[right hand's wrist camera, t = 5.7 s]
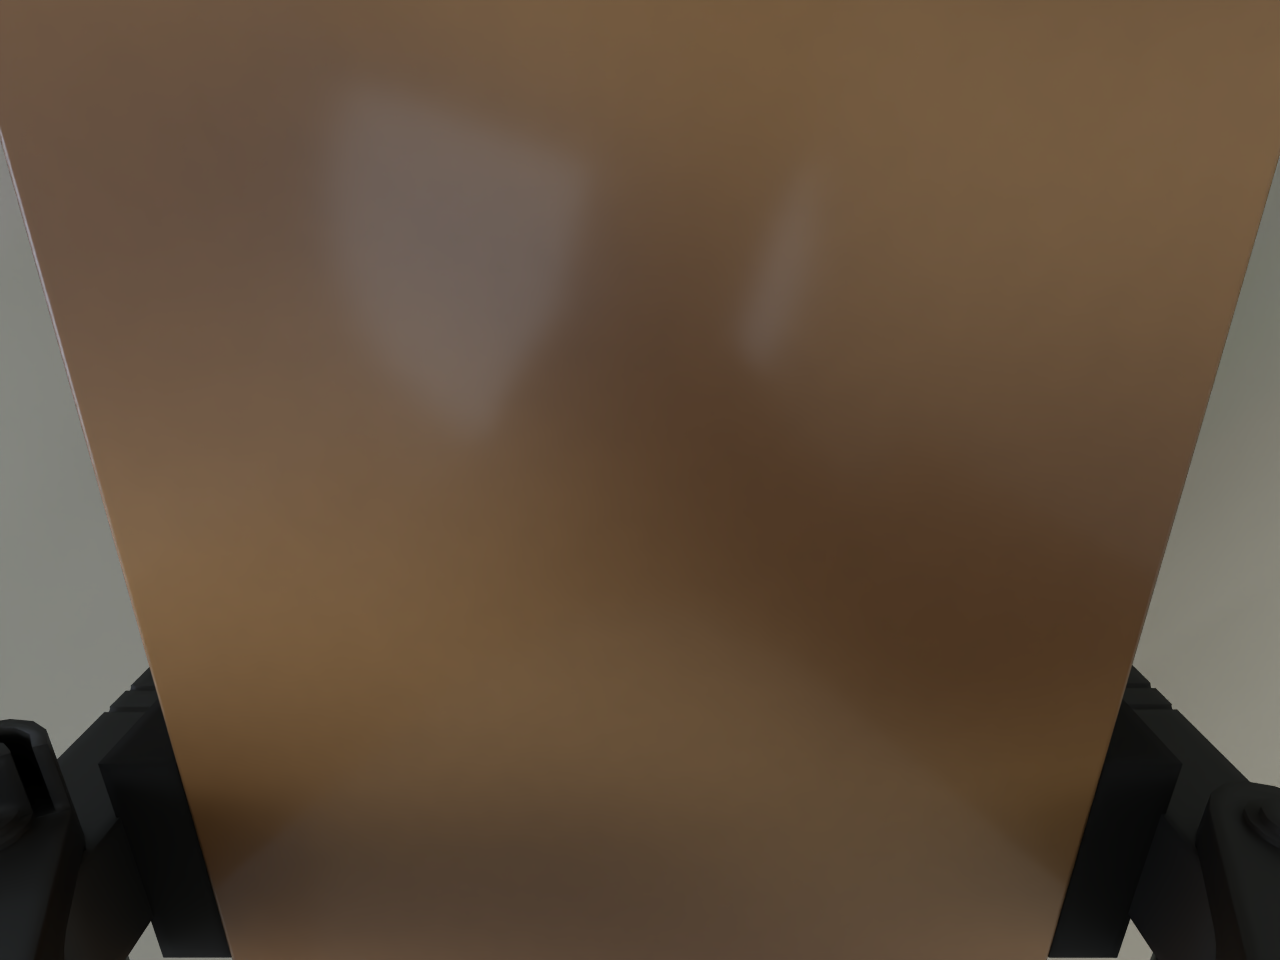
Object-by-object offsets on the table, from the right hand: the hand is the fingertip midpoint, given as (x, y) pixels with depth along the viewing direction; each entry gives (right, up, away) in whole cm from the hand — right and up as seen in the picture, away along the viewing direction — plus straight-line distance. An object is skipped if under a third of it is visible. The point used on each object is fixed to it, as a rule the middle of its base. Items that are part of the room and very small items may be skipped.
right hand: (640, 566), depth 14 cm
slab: (0, -31, +13) cm, 34 cm away
